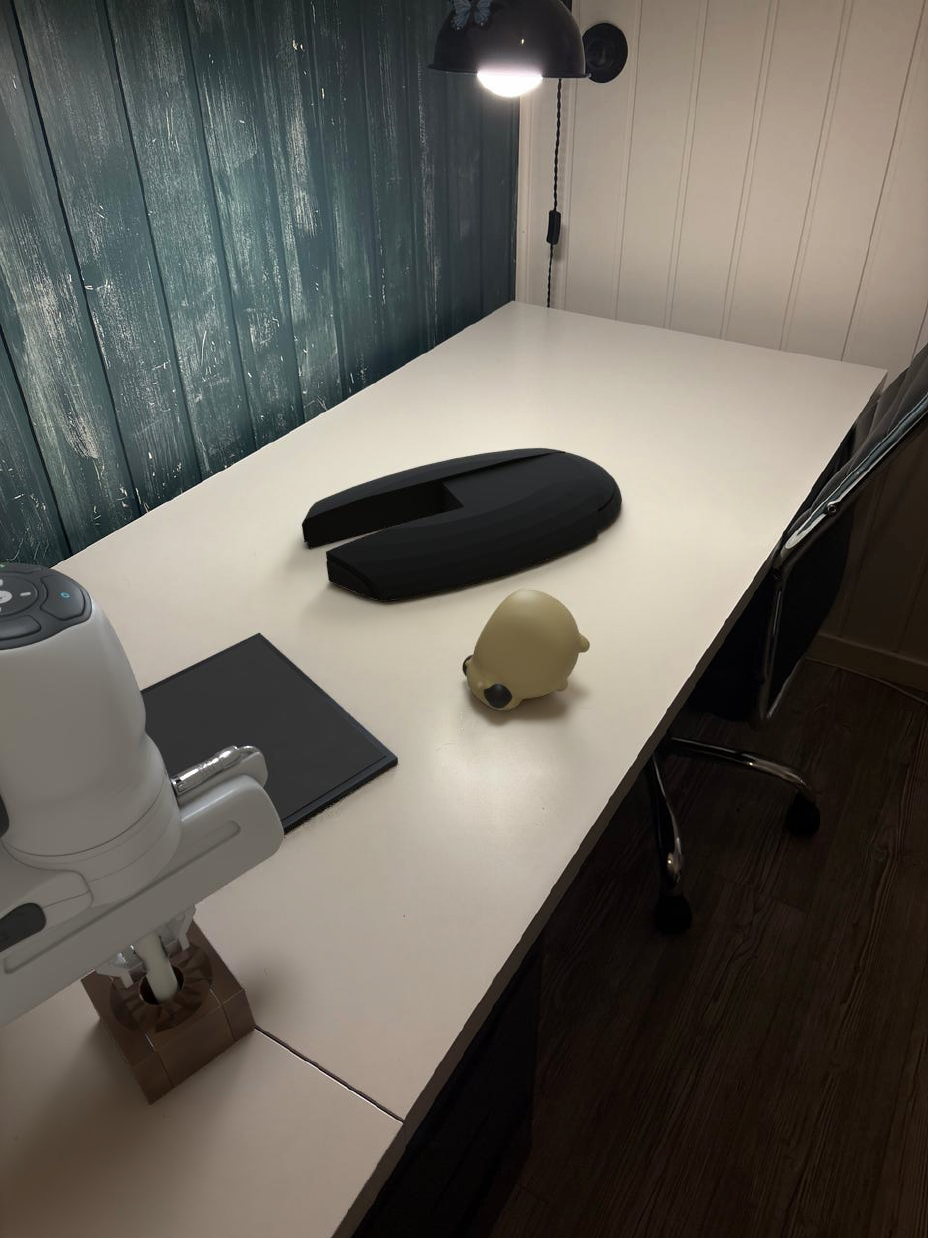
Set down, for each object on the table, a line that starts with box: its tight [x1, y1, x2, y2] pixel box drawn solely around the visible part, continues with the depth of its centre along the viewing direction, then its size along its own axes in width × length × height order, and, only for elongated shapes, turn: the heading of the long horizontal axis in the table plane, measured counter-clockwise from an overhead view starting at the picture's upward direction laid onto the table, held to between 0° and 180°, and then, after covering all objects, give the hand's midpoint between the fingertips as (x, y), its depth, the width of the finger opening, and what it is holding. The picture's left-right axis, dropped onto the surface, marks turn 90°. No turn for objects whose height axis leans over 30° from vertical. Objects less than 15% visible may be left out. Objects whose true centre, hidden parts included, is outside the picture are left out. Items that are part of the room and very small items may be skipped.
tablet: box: [140, 632, 399, 835], centre depth 86 cm, size 17×24×1 cm
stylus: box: [132, 930, 180, 1005], centre depth 59 cm, size 2×2×14 cm
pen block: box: [80, 918, 257, 1106], centre depth 63 cm, size 8×8×5 cm
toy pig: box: [461, 588, 591, 711], centre depth 88 cm, size 10×12×11 cm
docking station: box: [301, 447, 623, 602], centre depth 113 cm, size 25×40×5 cm, turn 116°
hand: (153, 960), depth 59 cm, fingers closed on stylus, 2 cm apart
